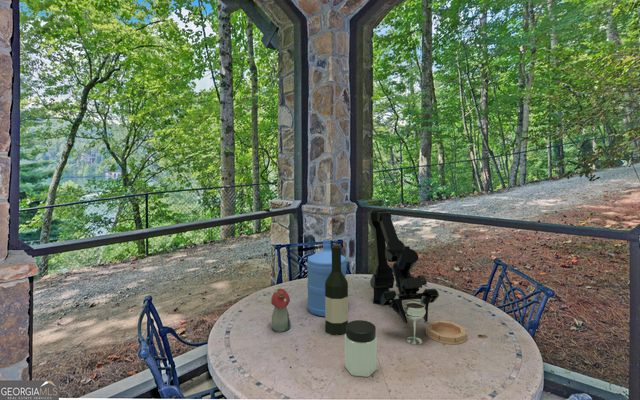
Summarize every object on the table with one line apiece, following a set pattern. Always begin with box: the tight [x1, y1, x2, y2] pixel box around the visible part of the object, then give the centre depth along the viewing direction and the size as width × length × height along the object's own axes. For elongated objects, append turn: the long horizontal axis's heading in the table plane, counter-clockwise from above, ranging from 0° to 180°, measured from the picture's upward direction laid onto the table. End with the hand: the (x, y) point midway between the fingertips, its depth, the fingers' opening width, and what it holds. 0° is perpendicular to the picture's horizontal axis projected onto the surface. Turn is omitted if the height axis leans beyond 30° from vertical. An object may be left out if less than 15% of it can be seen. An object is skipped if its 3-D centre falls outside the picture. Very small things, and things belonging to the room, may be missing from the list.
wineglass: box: [403, 299, 426, 345], centre depth 105 cm, size 7×7×12 cm
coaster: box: [425, 320, 468, 345], centre depth 109 cm, size 13×13×2 cm
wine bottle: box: [324, 243, 349, 336], centre depth 112 cm, size 8×8×30 cm
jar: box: [344, 319, 378, 378], centre depth 90 cm, size 9×8×12 cm
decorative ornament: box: [270, 288, 291, 333], centre depth 115 cm, size 9×6×15 cm
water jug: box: [306, 239, 348, 317], centre depth 130 cm, size 16×16×28 cm
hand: (416, 322), depth 104 cm, fingers closed on wineglass, 6 cm apart
